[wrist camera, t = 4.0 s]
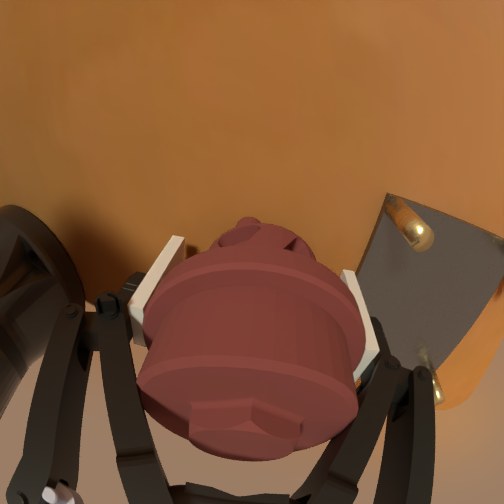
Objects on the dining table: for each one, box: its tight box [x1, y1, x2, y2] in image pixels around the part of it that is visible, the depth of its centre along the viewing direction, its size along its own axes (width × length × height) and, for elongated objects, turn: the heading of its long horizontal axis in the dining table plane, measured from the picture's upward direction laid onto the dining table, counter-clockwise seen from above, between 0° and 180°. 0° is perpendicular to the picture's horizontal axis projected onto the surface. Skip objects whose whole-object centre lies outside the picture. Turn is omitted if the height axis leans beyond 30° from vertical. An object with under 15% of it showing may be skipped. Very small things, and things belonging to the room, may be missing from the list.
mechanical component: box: [136, 217, 366, 461], centre depth 13 cm, size 12×10×10 cm
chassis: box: [355, 193, 504, 406], centre depth 18 cm, size 15×17×4 cm
